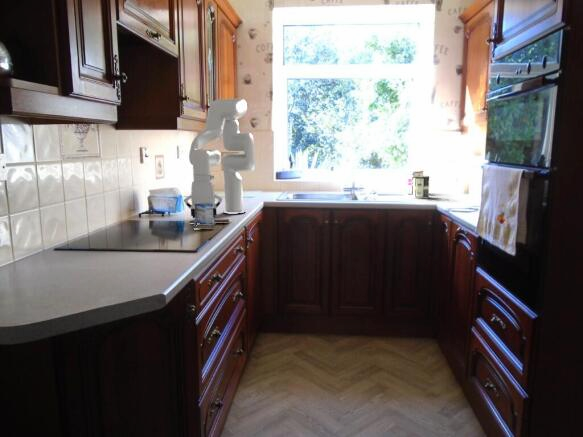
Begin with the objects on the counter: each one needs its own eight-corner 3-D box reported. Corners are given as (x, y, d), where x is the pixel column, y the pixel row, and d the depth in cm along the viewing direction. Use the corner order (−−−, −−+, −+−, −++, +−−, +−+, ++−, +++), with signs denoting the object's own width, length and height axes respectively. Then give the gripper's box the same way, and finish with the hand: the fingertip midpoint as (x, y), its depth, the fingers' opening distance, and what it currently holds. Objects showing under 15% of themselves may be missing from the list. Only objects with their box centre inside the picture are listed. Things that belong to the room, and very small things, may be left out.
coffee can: (426, 196, 302) (426, 175, 300) (430, 198, 292) (431, 176, 289) (410, 196, 302) (411, 175, 300) (414, 198, 292) (415, 176, 290)
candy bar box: (412, 194, 313) (413, 171, 310) (406, 194, 317) (407, 170, 314) (422, 193, 319) (423, 170, 317) (417, 192, 323) (417, 170, 321)
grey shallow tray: (195, 225, 207) (195, 220, 207) (214, 224, 208) (214, 220, 208) (193, 230, 194) (192, 226, 194) (214, 229, 196) (213, 225, 195)
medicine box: (194, 222, 202) (193, 203, 200) (202, 221, 205) (201, 202, 204) (206, 224, 197) (205, 205, 195) (214, 223, 200) (213, 203, 199)
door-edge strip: (190, 224, 208) (189, 220, 208) (229, 223, 211) (228, 219, 210) (189, 225, 207) (189, 220, 207) (229, 223, 210) (228, 219, 209)
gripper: (222, 177, 203) (223, 215, 206) (182, 178, 200) (184, 216, 203) (222, 178, 195) (223, 218, 198) (181, 179, 193) (183, 219, 196)
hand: (204, 217), depth 201 cm, fingers closed on medicine box, 8 cm apart
